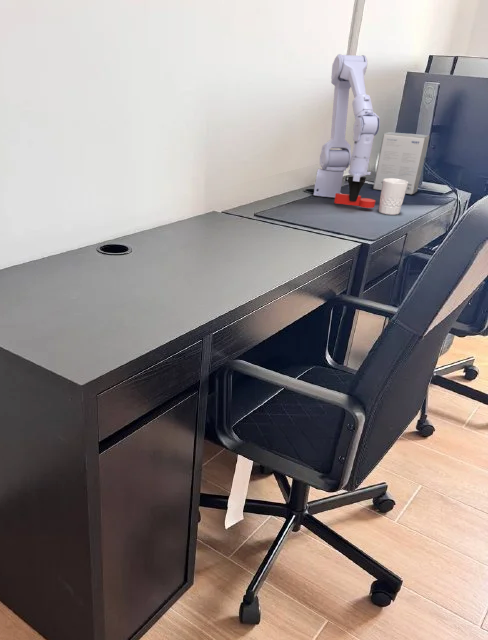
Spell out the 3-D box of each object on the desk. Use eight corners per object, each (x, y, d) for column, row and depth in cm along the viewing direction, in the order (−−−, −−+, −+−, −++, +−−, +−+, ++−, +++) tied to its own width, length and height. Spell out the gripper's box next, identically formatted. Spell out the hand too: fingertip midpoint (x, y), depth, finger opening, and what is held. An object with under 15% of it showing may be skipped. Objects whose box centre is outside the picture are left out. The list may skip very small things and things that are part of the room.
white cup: (388, 216, 187) (395, 184, 182) (371, 210, 193) (377, 179, 188) (406, 214, 190) (413, 182, 185) (389, 208, 196) (395, 177, 191)
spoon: (374, 205, 194) (376, 196, 193) (374, 208, 190) (376, 199, 189) (334, 201, 197) (336, 192, 196) (333, 204, 193) (335, 195, 192)
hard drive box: (417, 192, 222) (431, 135, 211) (412, 195, 216) (426, 137, 206) (377, 186, 229) (388, 131, 218) (371, 189, 223) (383, 132, 213)
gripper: (372, 161, 179) (364, 206, 186) (374, 154, 191) (365, 197, 198) (349, 159, 181) (342, 203, 188) (352, 152, 193) (345, 195, 200)
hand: (352, 200), depth 193 cm, fingers closed on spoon, 2 cm apart
